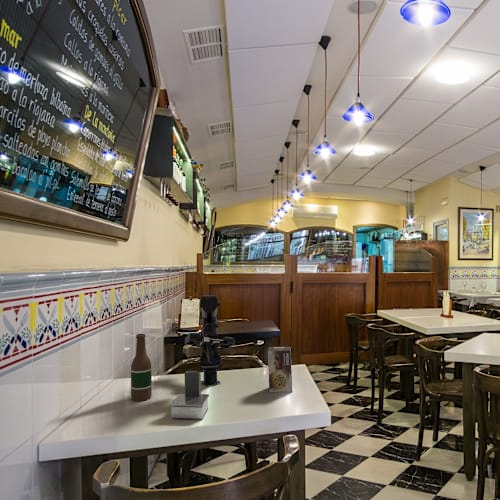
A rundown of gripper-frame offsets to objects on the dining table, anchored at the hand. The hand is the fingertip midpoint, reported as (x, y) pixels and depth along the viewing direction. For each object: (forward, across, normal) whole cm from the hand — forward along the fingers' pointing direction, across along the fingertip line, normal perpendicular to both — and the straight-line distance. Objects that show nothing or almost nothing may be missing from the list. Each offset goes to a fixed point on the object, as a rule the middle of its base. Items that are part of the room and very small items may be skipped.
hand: (210, 362), depth 139 cm
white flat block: (+18, +8, +2) cm, 20 cm away
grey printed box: (+9, -29, +1) cm, 30 cm away
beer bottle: (+8, +20, -21) cm, 30 cm away
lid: (+15, +9, +3) cm, 18 cm away
